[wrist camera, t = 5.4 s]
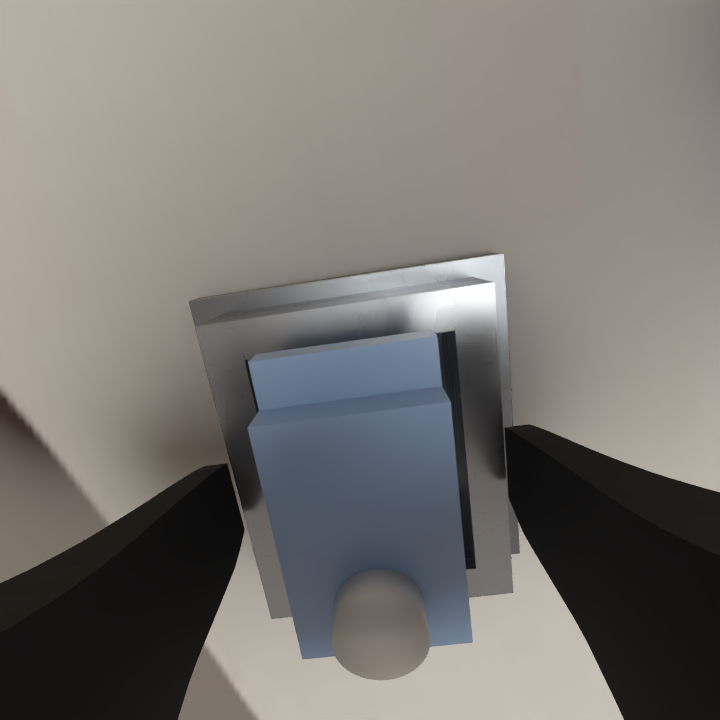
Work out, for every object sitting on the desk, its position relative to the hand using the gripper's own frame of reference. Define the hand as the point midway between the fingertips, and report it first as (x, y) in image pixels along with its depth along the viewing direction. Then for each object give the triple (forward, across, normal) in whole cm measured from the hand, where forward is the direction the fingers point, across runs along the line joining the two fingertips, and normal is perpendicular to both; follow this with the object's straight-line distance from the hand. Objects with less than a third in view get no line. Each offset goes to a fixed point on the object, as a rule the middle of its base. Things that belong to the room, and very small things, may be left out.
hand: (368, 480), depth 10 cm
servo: (+2, 0, 0) cm, 2 cm away
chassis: (+3, 0, 0) cm, 3 cm away
